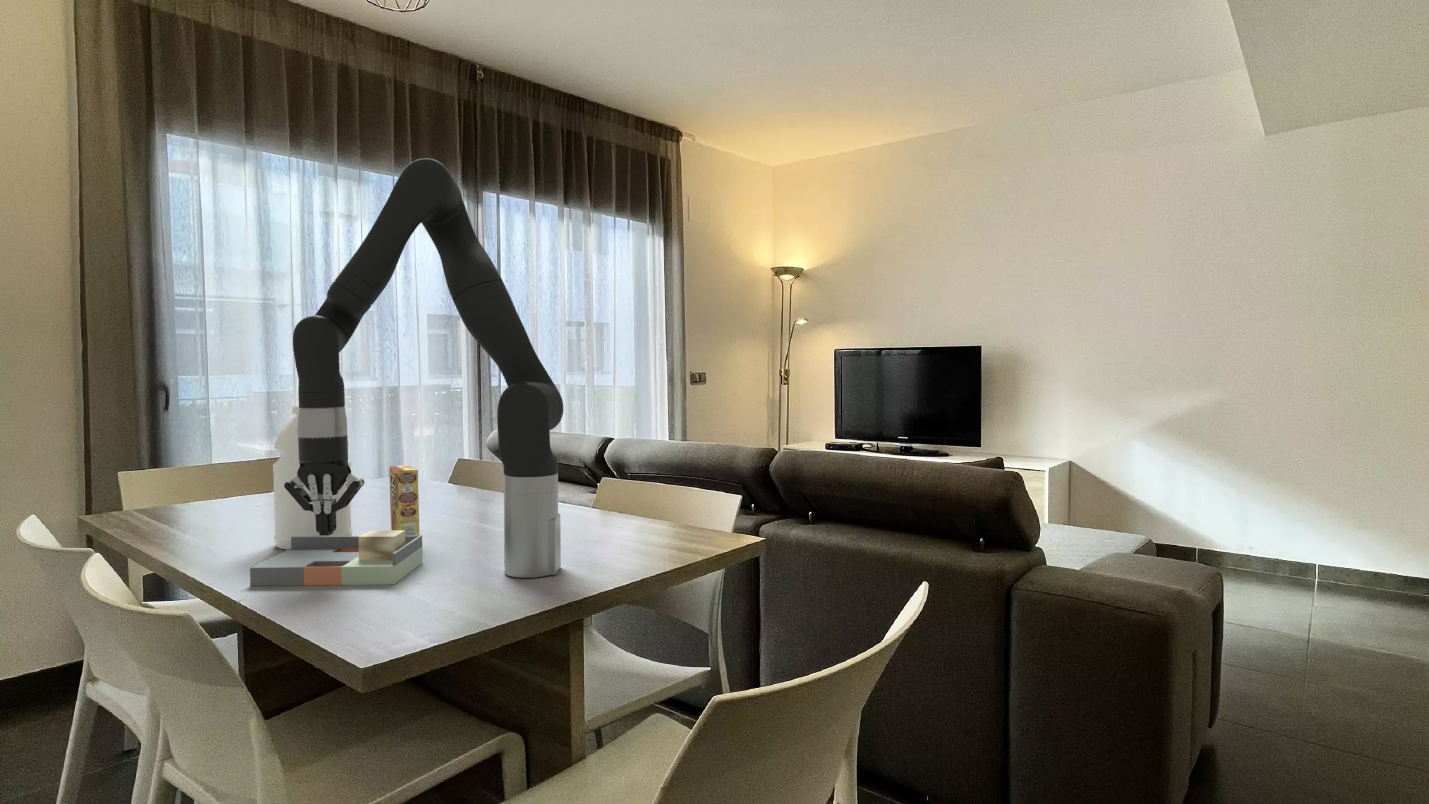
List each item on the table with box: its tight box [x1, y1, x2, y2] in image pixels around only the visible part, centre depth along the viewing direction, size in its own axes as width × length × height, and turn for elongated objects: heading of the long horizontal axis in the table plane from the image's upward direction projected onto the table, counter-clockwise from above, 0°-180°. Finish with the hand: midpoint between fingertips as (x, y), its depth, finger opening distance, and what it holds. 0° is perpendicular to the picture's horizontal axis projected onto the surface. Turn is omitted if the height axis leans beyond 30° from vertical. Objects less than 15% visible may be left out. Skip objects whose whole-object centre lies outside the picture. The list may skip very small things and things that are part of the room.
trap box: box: [249, 535, 423, 587], centre depth 132 cm, size 23×14×5 cm, turn 93°
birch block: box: [358, 529, 405, 560], centre depth 132 cm, size 6×5×4 cm
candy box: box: [388, 464, 421, 536], centre depth 156 cm, size 9×4×15 cm, turn 33°
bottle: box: [272, 404, 353, 551], centre depth 155 cm, size 14×14×28 cm
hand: (326, 534), depth 131 cm, fingers closed
